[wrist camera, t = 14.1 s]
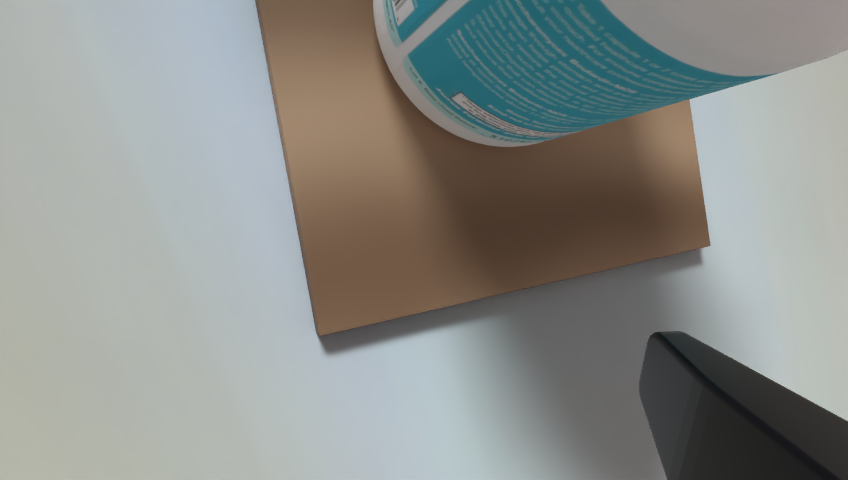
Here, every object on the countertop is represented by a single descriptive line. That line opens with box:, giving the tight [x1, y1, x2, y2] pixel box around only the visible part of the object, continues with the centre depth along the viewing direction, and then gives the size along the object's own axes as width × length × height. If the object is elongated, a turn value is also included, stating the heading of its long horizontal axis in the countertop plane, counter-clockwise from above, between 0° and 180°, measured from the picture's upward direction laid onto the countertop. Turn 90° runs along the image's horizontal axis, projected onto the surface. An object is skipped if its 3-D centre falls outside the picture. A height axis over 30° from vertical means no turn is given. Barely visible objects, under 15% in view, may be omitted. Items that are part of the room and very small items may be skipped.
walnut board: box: [255, 0, 710, 336], centre depth 20 cm, size 16×13×1 cm
